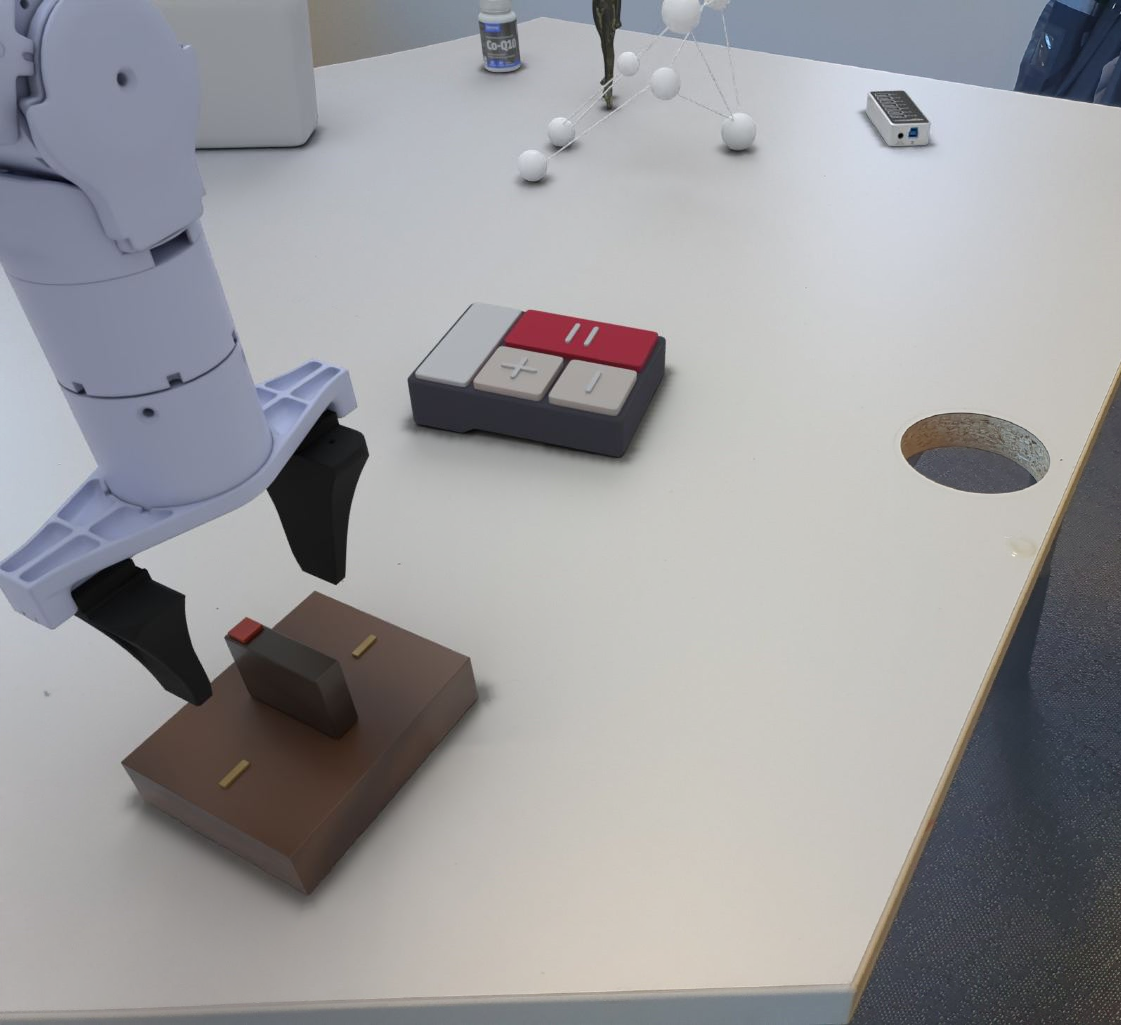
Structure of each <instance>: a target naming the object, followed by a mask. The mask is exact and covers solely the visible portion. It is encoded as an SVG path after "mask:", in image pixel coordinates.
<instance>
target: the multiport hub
mask: <svg viewBox="0 0 1121 1025" xmlns="http://www.w3.org/2000/svg"><path fill="white" fill-rule="evenodd" d="M865 114H866V115H867V117H868V118H869V120H870V121H871V122H872V124H873V125H874V127H875V128H876V130H877V131H878V133H879V134H880V136H881V137H882V138H883V140H884V142H885V143H886V145H887V146H889V147H908V146H909V147H911V146H927V145H928V143H929V139H930V132H931V126H932V122H931V121H930V120H929V118H928V117H927V115H925V114H924V112H923V110H921V108H920V107H919V106H918V105H917V104H916V102H915V100H913V99H912V97H911V96H910V95H909V94H908V92H907V91H905V90H901V89H900V90H875V91H874V90H873V91H868V92H867V100H866V107H865Z"/></svg>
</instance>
